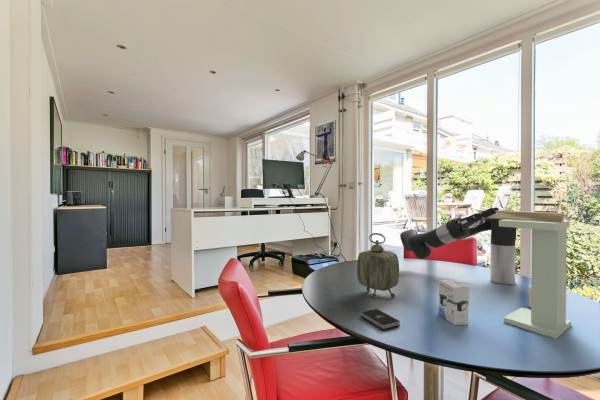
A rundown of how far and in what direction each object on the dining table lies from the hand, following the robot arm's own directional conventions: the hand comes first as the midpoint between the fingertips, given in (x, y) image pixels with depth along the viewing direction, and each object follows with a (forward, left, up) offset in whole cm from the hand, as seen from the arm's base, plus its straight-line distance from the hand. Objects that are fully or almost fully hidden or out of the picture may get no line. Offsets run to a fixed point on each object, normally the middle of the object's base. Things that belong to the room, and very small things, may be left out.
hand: (496, 209), depth 96 cm
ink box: (+18, -5, -35) cm, 40 cm away
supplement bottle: (-16, +7, -35) cm, 39 cm away
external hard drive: (+39, -17, -35) cm, 55 cm away
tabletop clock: (+22, -33, -35) cm, 53 cm away
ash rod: (0, +6, -3) cm, 7 cm away
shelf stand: (0, +10, -35) cm, 36 cm away
